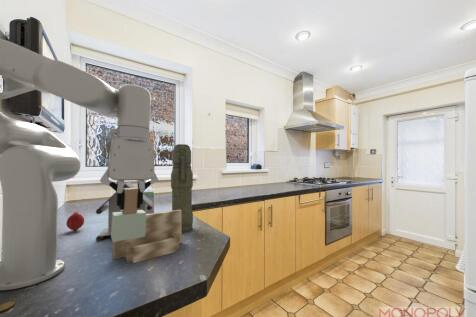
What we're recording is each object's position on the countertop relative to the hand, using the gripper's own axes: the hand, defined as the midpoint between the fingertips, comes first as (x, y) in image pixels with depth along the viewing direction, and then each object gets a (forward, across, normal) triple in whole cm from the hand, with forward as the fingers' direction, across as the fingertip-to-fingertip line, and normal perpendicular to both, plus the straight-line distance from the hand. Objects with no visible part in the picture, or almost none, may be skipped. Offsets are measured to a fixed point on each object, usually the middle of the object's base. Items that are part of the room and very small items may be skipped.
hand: (129, 207), depth 52 cm
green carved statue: (+16, +24, +24) cm, 38 cm away
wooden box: (+16, +8, +8) cm, 19 cm away
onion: (+18, -11, +50) cm, 54 cm away
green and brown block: (+7, 0, 0) cm, 7 cm away
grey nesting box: (+17, +5, +32) cm, 37 cm away
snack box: (+17, +17, +50) cm, 56 cm away
